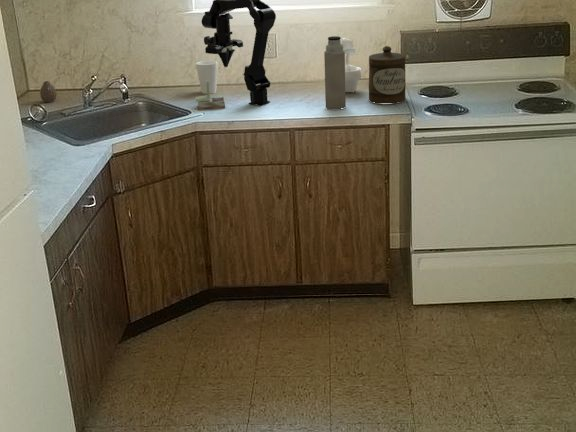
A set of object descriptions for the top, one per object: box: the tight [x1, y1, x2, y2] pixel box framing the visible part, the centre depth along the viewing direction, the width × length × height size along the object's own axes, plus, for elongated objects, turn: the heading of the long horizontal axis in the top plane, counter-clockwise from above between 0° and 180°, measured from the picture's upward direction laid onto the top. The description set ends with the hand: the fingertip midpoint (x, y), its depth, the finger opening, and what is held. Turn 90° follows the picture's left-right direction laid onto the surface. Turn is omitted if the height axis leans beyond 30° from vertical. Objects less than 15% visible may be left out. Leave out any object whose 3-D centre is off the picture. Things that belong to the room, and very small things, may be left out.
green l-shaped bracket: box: [195, 80, 211, 103], centre depth 329 cm, size 6×6×8 cm
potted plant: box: [337, 35, 362, 93], centre depth 341 cm, size 13×12×25 cm
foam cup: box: [195, 60, 219, 95], centre depth 354 cm, size 10×9×13 cm
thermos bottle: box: [323, 35, 347, 110], centre depth 317 cm, size 8×8×28 cm
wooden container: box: [368, 45, 407, 104], centre depth 325 cm, size 15×15×22 cm
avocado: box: [39, 80, 58, 104], centre depth 351 cm, size 7×7×9 cm
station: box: [197, 96, 226, 111], centre depth 331 cm, size 11×8×3 cm
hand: (225, 67), depth 341 cm, fingers closed
